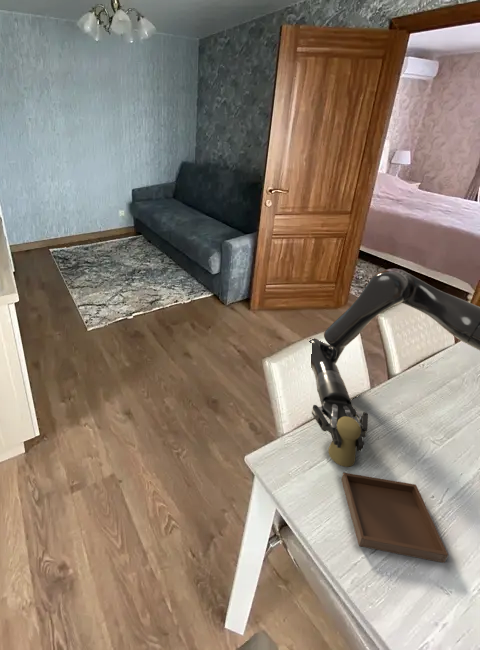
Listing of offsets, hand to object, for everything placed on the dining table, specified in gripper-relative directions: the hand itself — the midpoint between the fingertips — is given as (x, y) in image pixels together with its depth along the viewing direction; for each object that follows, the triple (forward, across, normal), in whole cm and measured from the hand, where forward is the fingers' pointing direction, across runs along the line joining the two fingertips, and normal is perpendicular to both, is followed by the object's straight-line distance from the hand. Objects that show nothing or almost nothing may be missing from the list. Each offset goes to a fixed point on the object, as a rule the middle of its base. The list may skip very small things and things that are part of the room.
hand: (349, 446), depth 80 cm
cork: (-3, 0, +7) cm, 7 cm away
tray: (+10, +6, +6) cm, 13 cm away
